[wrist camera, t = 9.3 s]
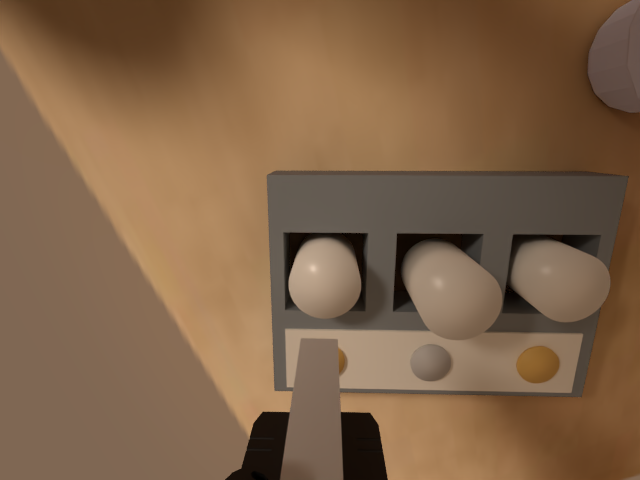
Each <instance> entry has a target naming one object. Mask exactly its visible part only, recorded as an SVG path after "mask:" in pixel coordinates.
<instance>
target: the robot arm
mask: <svg viewBox="0 0 640 480" xmlns="http://www.w3.org/2000/svg"><path fill="white" fill-rule="evenodd" d="M225 480H388V479H387V473H386V467H385V461H384V455H383V449H382V443H381V437H380V432H379V426H378V424H377V422H376V421H375V419H374V418H373V416H372V415H371V414H370V413H357V412H341V409H340V384H339V358H338V339H316V338H301V341H300V347H299V354H298V361H297V368H296V375H295V381H294V388H293V395H292V402H291V408H290V412H262V414H261V415H260V416H259V417H258V419H257V420H256V421H255V422H254V424H253V427H252V431H251V435H250V440H249V443H248V446H247V451H246V453H245V457H244V461H243V464H242V468H241V469H239V470H237V471H235V472H233V473H232V474H231V475H230V476H229V477H228V478H226V479H225Z"/></svg>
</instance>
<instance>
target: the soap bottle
mask: <svg viewBox="0 0 640 480" xmlns="http://www.w3.org/2000/svg"><path fill="white" fill-rule="evenodd" d="M587 75H588V77H589V80H590V83H591V85H592V88H593V91H594V93H595V94H596V95H597V96H598V97H599V98H600V99H601V100H602V101H603V102H604V103H605V104H606V105H607V106H609V107H612V108H615V109H619V110H622V111H626V112H629V113H634V112H640V0H632V1H630V2H628V3H626V4H625V5H623V6H621V7H619V8H618V9H617V10H616V11H615V12H614V13H613V14H612V15H611V16H610V17H609V18H608V20H607V21H606V22H605V23H604V24H603V25H602V26H601V27H600V29H599V30H598V32H597V34H596V36H595V39H594V41H593V43H592V46H591V48H590V50H589V55H588V74H587Z"/></svg>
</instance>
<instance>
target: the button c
mask: <svg viewBox="0 0 640 480" xmlns="http://www.w3.org/2000/svg"><path fill="white" fill-rule="evenodd" d="M506 285H507V286H509V287H510V288H511V289H512V290H514V291H515V292H516V293H517V294H519V295H520V296H521V297H522V298H524V299H525V300H526V301H527V302H529V303H530V304H531V305H532V306H534V307H535V308H536V309H537V310H538V311H540V312H541V313H542V314H543V315H545V316H546V317H548V318H550V319H552V320H554V321H558V322H575V321H579V320H582V319H584V318H586V317H588V316H590V315H591V314H593V313H594V312H595V311H597V310H598V309H599V308H600V307H601V306H602V304H603V303H604V302H605V300H606V298H607V296H608V294H609V290H610V275H609V272H608V270H607V268H606V266H605V265H604V264H603V263H602V262H601V261H600V260H599V259H598V258H596V257H594V256H592V255H589V254H587V253H585V252H582V251H580V250H578V249H575V248H573V247H571V246H568V245H566V244H564V243H561V242H559V241H557V240H554V239H552V238H550V237H547V236H545V235H543V234H514V235H513V238H512V245H511V252H510V259H509V266H508V274H507V281H506Z"/></svg>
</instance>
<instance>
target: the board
mask: <svg viewBox="0 0 640 480" xmlns="http://www.w3.org/2000/svg"><path fill="white" fill-rule="evenodd" d="M628 177H629V176H622V175H613V174H604V173H595V172H510V171H274V172H272V173H270V174H268V175H267V191H268V219H269V247H270V275H271V303H272V332H273V360H274V388H275V391H293V388H294V381H295V375H296V368H297V361H298V354H299V347H300V341H301V338H316V339H338V358H339V384H340V392H357V393H406V394H455V395H505V396H554V397H582V393H583V388H584V384H585V379H586V374H587V370H588V365H589V360H590V355H591V351H592V346H593V341H594V337H595V332H596V327H597V323H598V318H599V313H600V309H601V307H600V308H599V309H598V310H597V311H595V312H594V313H593V314H591V315H590V316H588V317H586V318H584V319H582V320H579V321H575V322H558V321H554V320H552V319H550V318H548V317H546V316H545V315H543V314H542V313H541V312H540V311H538V310H537V309H536V308H535V307H534V306H532V305H531V304H530V303H529V302H527V301H526V300H525V299H524V298H522V297H521V296H520V295H519V294H517V293H512V292H505V288H506V281H507V274H508V266H509V259H510V252H511V245H512V238H513V234H550V235H563V239H562V243H564V244H566V245H568V246H571V247H573V248H575V249H578V250H580V251H582V252H585V253H587V254H589V255H592V256H594V257H596V258H598V259H599V260H600V261H601V262H602V263H603V264H604V265H605V266H606V268H607V270H608V271H609V266H610V262H611V257H612V252H613V248H614V243H615V238H616V234H617V229H618V224H619V220H620V215H621V210H622V206H623V201H624V196H625V191H626V187H627V182H628ZM290 232H296V233H363V252H362V283H361V292H360V295H359V298H358V300H357V302H356V303H355V305H354V306H353V307H352V308H351V309H350V310H349V311H348V312H346V313H344V314H343V315H341V316H338V317H335V318H330V319H321V318H315V317H312V316H310V315H308V314H306V313H304V312H303V311H301V310H300V309H299V308H298V307H297V306H296V304H295V303H294V302H293V300H292V298H291V295H290V292H289V277H290ZM397 233H423V234H462V243H461V250H462V251H463V252H464V253H465V254H467V255H468V256H469V257H470V258H472V259H473V260H474V261H475V262H476V263H478V264H479V265H480V266H481V267H483V268H484V269H485V270H486V271H487V272H489V273H490V274H491V275H492V276H493V277H494V278H495V279H496V281H497V282H498V284H499V286H500V289H501V292H502V307H501V310H500V313H499V315H498V317H497V319H496V320H495V322H494V323H493V324H492V326H491V327H490V328H488V329H487V330H486V331H485V332H483V333H482V334H480V335H478V336H476V337H473V338H470V339H466V340H449V339H445V338H442V337H440V336H437V335H436V334H434V333H433V332H432V331H430V330H429V329H428V328H427V326H426V325H425V324H424V322H423V320H422V318H421V316H420V314H419V312H418V311H417V309H416V307H415V305H414V303H413V301H412V299H411V297H410V295H409V293H408V291H394V278H395V260H396V242H397Z"/></svg>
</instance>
